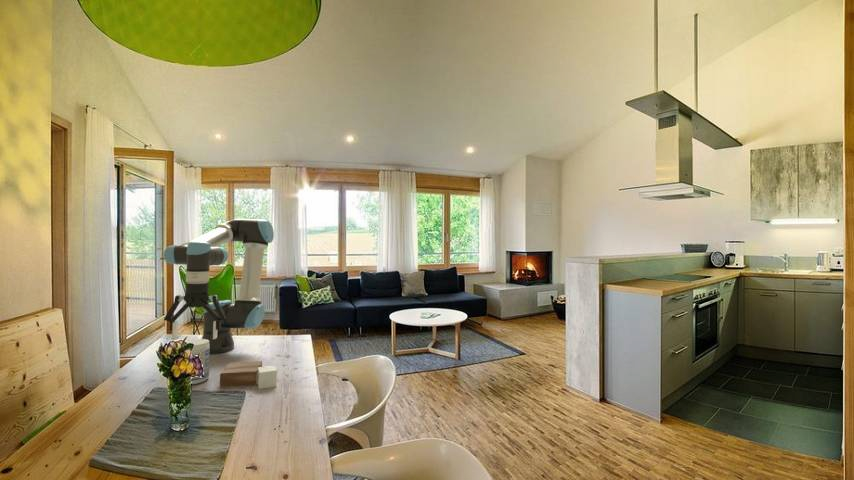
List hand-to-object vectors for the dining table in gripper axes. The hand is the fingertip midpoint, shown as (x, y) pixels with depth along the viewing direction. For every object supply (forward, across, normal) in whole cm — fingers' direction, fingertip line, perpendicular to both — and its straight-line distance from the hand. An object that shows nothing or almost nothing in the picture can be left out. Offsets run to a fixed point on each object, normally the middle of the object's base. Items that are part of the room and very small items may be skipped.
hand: (195, 338), depth 140 cm
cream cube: (+16, +27, -8) cm, 32 cm away
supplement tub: (+16, 0, 0) cm, 16 cm away
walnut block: (+16, +17, -2) cm, 23 cm away
